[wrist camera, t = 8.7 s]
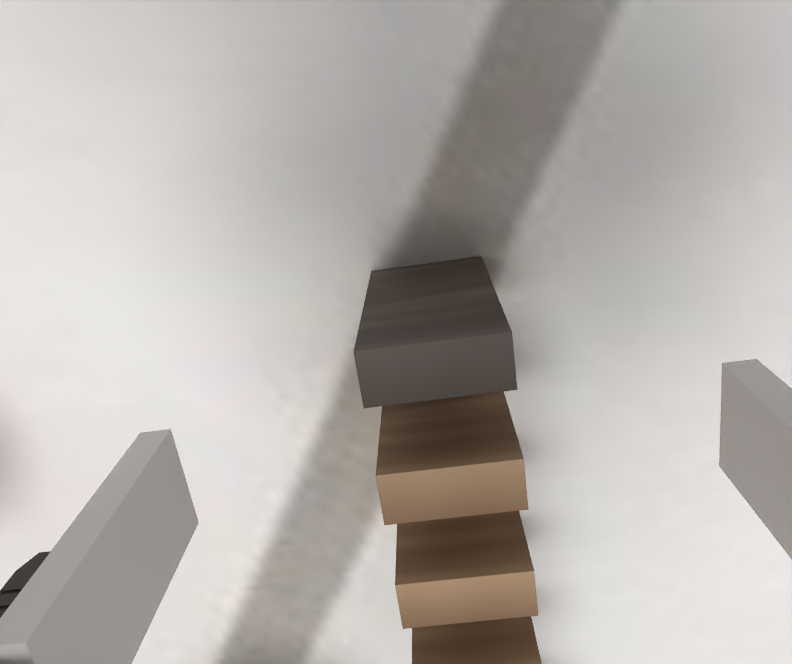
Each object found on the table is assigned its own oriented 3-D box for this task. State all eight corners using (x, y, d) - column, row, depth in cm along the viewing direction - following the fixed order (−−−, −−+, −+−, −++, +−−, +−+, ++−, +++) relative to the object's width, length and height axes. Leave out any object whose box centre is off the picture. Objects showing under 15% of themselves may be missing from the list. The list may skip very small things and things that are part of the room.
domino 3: (412, 524, 35) (412, 681, 26) (508, 513, 35) (542, 670, 26) (417, 555, 36) (419, 720, 27) (511, 545, 36) (546, 709, 26)
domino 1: (386, 362, 32) (375, 475, 23) (491, 349, 32) (523, 458, 23) (392, 400, 33) (384, 525, 24) (495, 388, 33) (528, 509, 23)
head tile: (371, 271, 31) (353, 351, 21) (481, 256, 31) (511, 331, 21) (377, 312, 32) (363, 408, 22) (485, 298, 31) (516, 389, 22)
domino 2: (399, 447, 34) (395, 585, 25) (499, 435, 34) (533, 570, 24) (405, 481, 35) (402, 628, 25) (503, 470, 34) (538, 615, 25)
